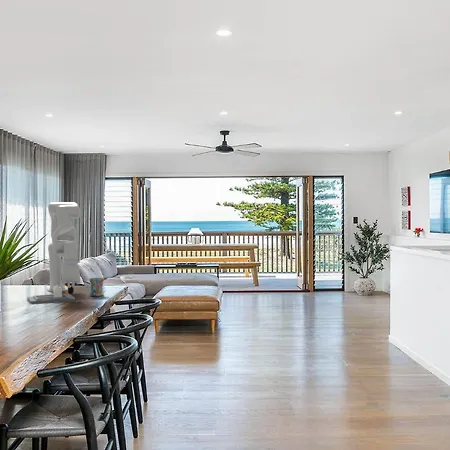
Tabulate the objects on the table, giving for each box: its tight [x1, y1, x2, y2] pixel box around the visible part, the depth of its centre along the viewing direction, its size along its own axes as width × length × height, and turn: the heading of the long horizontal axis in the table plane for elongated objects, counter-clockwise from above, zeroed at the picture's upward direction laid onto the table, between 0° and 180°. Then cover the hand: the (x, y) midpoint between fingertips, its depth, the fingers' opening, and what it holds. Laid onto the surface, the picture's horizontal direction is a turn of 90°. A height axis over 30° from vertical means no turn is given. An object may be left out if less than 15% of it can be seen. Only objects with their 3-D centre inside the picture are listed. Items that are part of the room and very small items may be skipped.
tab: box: [52, 286, 63, 298], centre depth 297 cm, size 4×4×7 cm
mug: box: [88, 277, 105, 297], centre depth 315 cm, size 12×9×11 cm
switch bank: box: [26, 293, 76, 305], centre depth 299 cm, size 18×24×2 cm
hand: (70, 294), depth 300 cm, fingers closed
